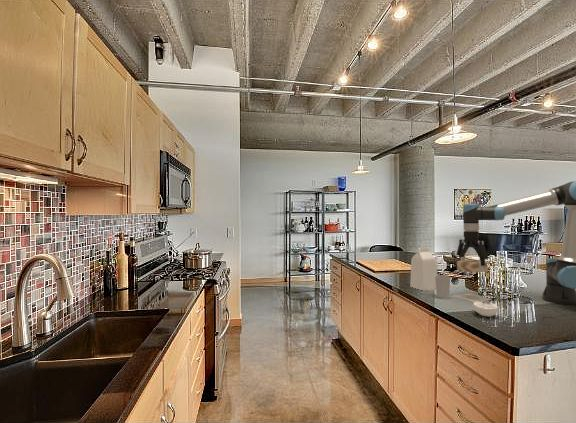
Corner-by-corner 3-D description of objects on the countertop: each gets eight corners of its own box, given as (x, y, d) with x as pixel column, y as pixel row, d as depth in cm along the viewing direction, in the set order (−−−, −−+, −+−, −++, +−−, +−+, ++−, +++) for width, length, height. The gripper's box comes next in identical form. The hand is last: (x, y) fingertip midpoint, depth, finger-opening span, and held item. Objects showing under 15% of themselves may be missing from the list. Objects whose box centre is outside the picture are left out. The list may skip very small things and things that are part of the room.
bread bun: (487, 271, 171) (487, 262, 171) (473, 272, 167) (473, 263, 167) (470, 268, 181) (470, 259, 181) (457, 269, 177) (456, 260, 177)
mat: (492, 300, 170) (492, 299, 170) (474, 302, 165) (474, 302, 165) (469, 293, 183) (469, 293, 183) (452, 296, 178) (452, 295, 178)
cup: (452, 299, 171) (452, 278, 171) (437, 299, 172) (437, 277, 172) (448, 296, 179) (448, 275, 179) (433, 295, 180) (433, 275, 180)
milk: (423, 291, 190) (422, 249, 190) (410, 286, 201) (409, 247, 201) (438, 289, 194) (438, 248, 194) (425, 285, 205) (424, 246, 205)
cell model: (470, 316, 144) (470, 301, 144) (476, 310, 153) (476, 296, 153) (496, 321, 137) (496, 306, 137) (500, 314, 146) (500, 300, 146)
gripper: (449, 230, 183) (449, 267, 183) (486, 232, 162) (486, 274, 162) (458, 229, 186) (459, 266, 186) (495, 231, 164) (496, 272, 164)
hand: (472, 269), depth 174 cm, fingers closed on bread bun, 10 cm apart
